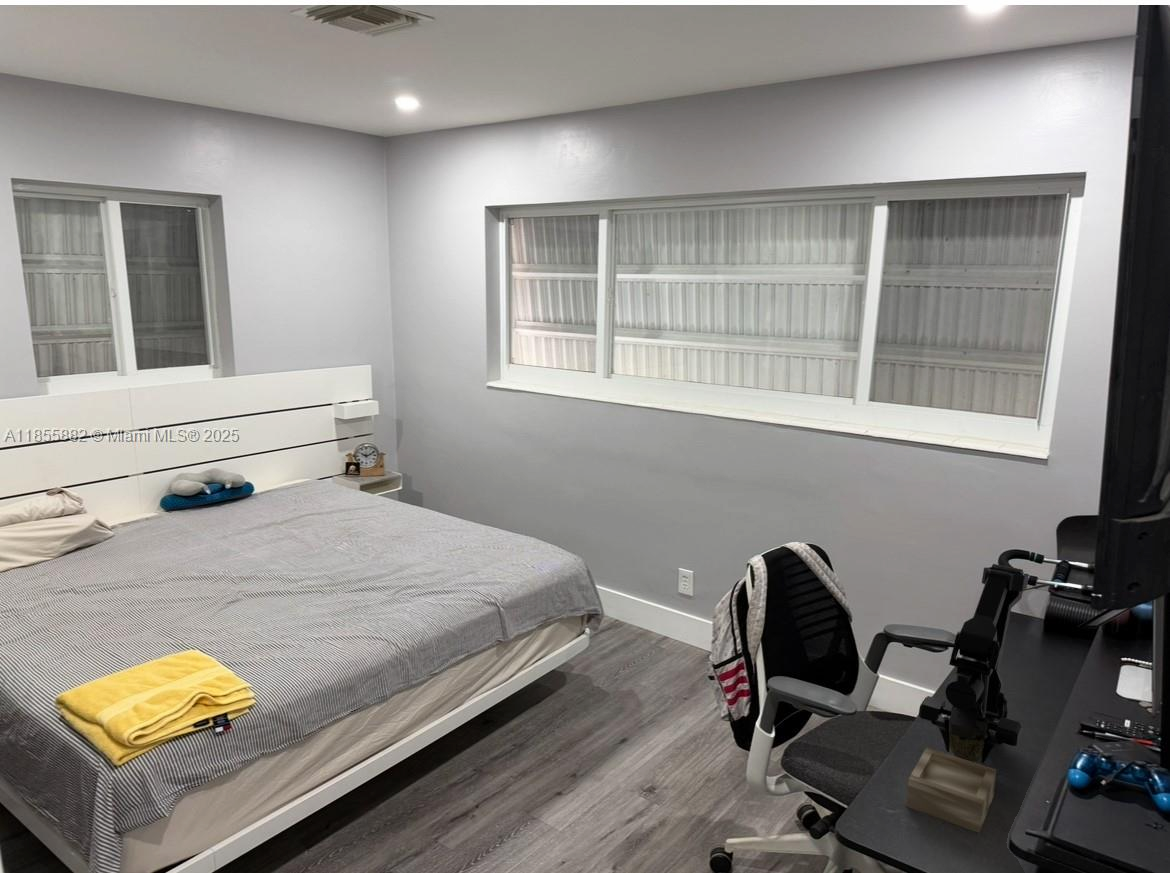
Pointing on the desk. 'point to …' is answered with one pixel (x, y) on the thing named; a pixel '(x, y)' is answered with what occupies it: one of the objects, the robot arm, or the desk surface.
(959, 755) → the cup
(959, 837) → the desk surface
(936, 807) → the wooden box
